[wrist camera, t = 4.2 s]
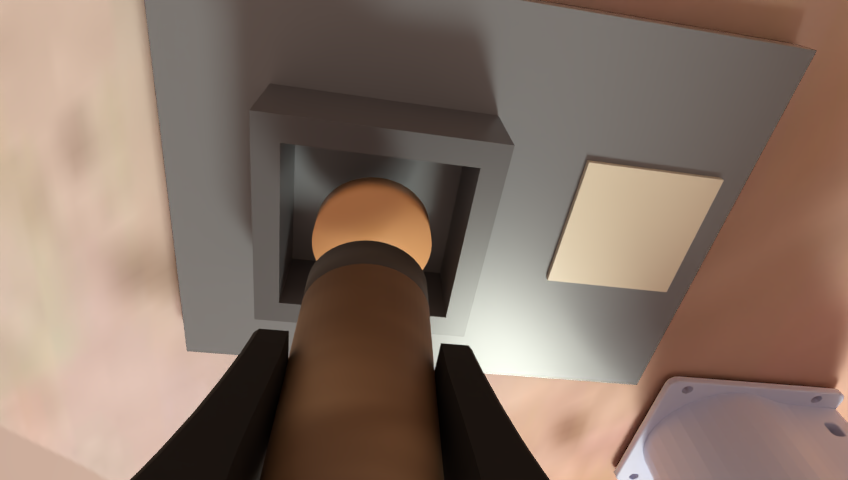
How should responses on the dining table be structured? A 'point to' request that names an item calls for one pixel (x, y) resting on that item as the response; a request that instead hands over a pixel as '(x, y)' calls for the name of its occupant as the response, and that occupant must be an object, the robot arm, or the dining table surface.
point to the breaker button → (373, 218)
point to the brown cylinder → (359, 374)
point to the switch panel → (462, 162)
